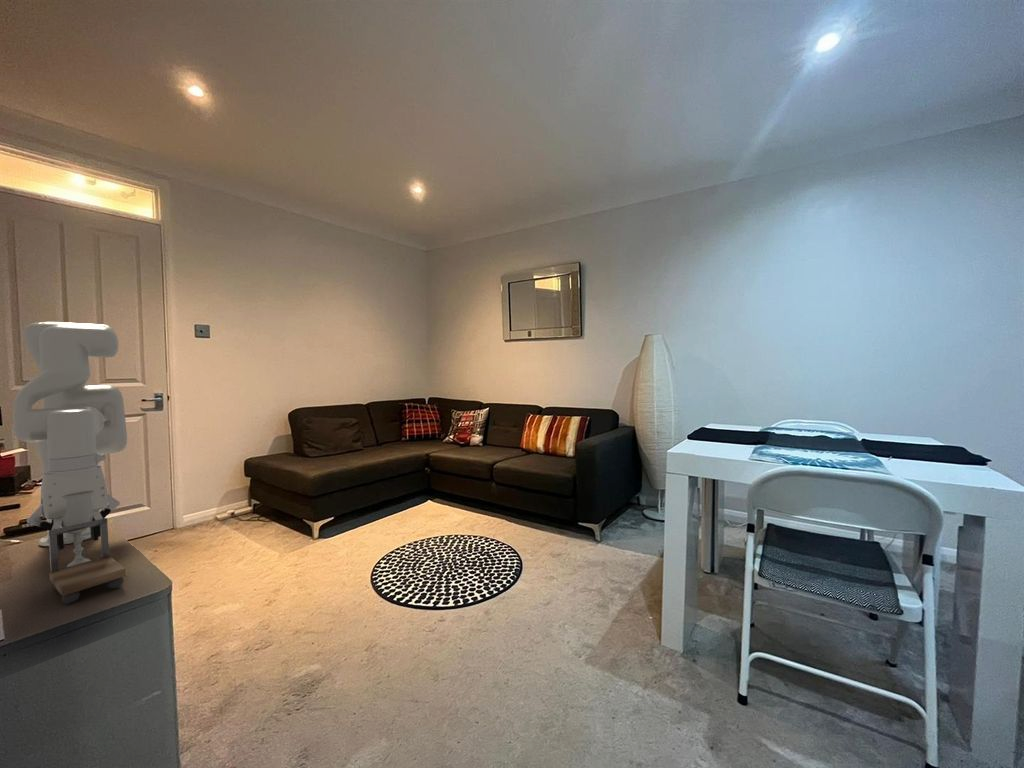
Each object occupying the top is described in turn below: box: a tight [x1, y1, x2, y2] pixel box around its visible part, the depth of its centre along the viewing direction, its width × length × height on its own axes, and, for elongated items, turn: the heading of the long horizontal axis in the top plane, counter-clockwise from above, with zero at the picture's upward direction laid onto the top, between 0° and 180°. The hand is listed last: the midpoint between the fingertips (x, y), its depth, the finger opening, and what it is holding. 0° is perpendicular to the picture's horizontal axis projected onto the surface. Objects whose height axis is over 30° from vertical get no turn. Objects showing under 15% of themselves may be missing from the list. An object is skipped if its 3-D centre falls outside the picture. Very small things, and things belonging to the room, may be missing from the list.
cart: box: [47, 517, 126, 605], centre depth 85 cm, size 12×9×12 cm
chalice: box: [61, 491, 95, 567], centre depth 94 cm, size 7×7×18 cm
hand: (77, 542), depth 94 cm, fingers closed on chalice, 4 cm apart
